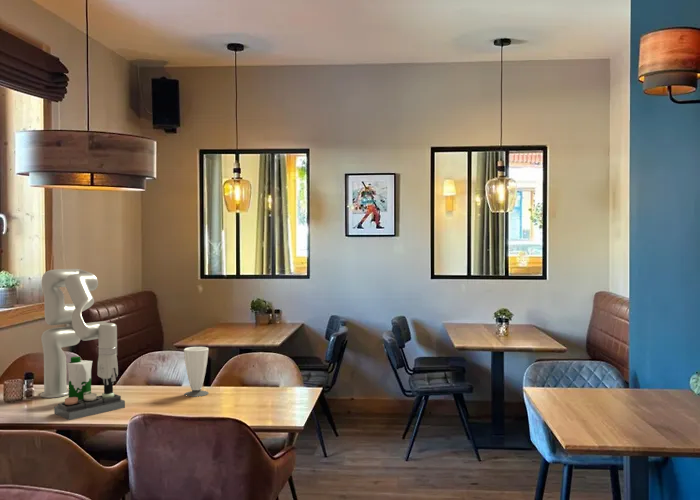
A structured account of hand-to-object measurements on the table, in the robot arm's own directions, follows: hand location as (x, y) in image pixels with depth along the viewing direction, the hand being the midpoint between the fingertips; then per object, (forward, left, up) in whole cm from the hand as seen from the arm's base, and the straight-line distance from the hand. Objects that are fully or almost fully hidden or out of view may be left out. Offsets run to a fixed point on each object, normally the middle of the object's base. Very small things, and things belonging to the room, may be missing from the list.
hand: (108, 393), depth 259 cm
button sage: (0, 0, -2) cm, 2 cm away
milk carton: (-18, -4, -6) cm, 20 cm away
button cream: (0, -8, -1) cm, 8 cm away
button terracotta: (0, -16, -1) cm, 16 cm away
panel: (0, -8, -6) cm, 10 cm away
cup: (+11, +38, -6) cm, 40 cm away
